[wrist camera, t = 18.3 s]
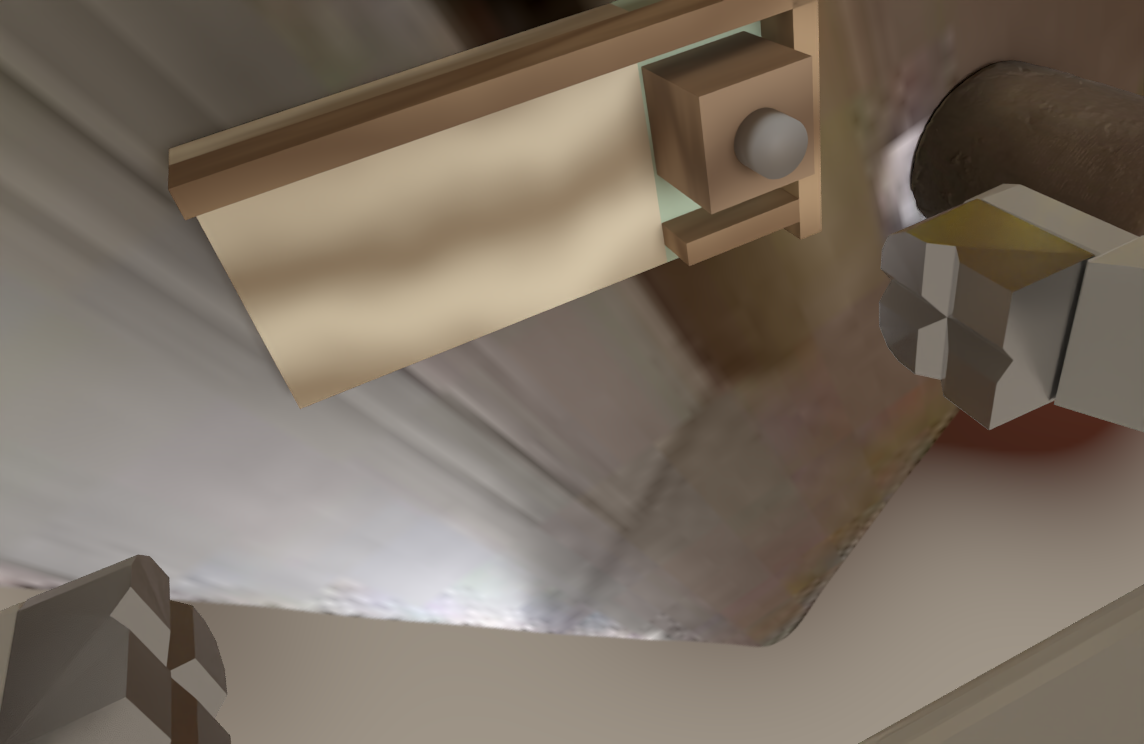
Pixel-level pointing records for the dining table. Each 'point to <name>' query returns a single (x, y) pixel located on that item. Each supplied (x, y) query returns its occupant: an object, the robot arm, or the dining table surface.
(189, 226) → the dining table surface
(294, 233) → the rail board
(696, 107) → the knobbed wooden block
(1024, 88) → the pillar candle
